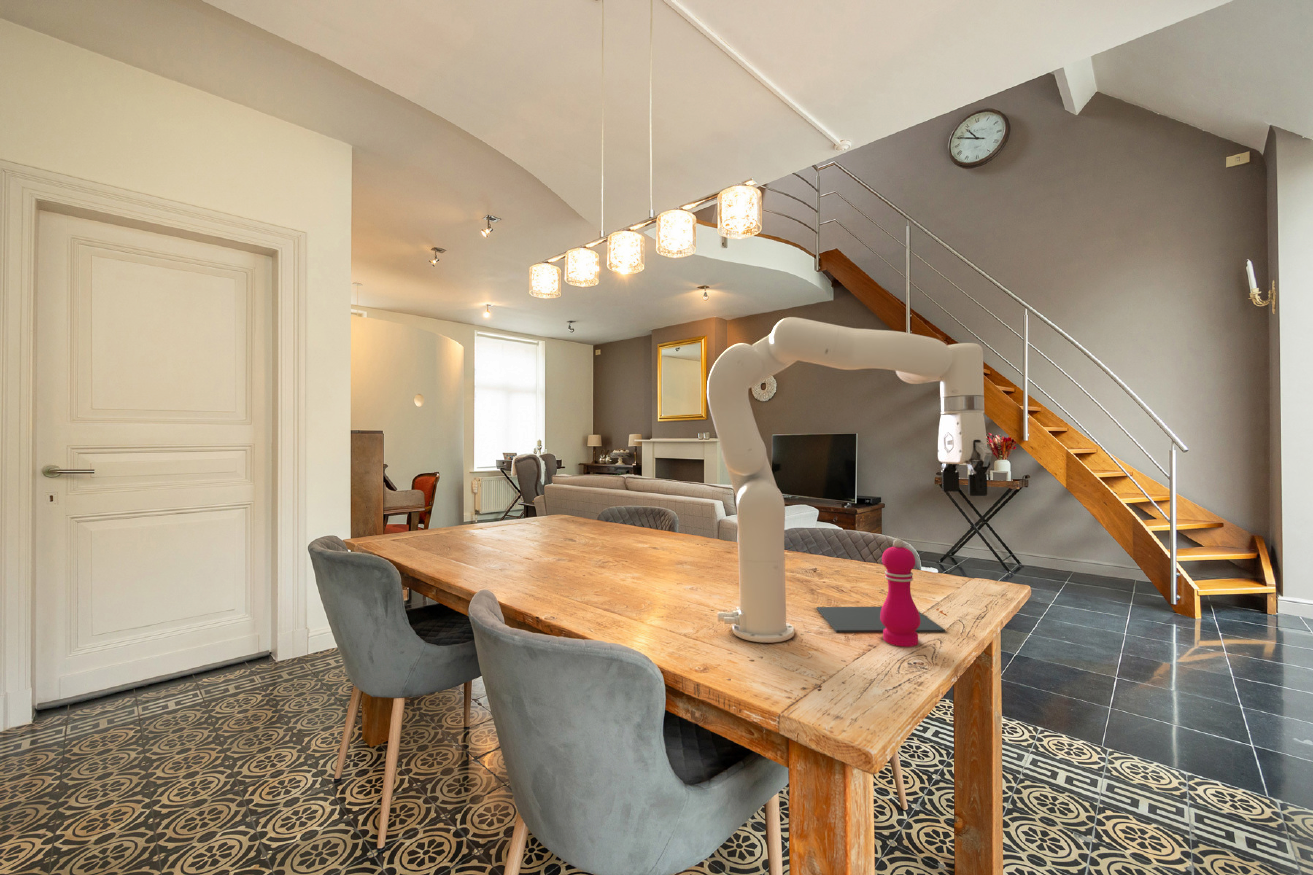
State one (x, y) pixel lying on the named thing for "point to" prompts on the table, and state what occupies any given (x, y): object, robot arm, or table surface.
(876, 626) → the mat
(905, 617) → the pepper mill
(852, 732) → the table surface
